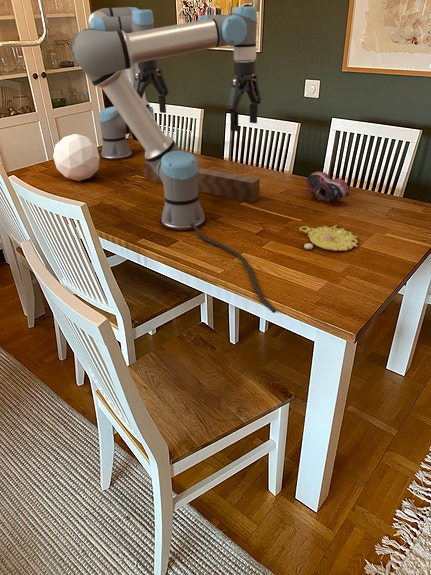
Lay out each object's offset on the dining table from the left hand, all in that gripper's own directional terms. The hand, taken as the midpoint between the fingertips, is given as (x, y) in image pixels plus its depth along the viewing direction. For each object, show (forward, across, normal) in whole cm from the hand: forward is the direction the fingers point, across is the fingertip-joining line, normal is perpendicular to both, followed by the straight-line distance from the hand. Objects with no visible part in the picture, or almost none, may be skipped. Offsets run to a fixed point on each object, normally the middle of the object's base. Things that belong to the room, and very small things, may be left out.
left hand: (152, 115), depth 180 cm
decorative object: (+27, -18, -85) cm, 91 cm away
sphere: (+27, -16, +32) cm, 45 cm away
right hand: (0, 0, -43) cm, 43 cm away
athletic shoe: (+27, +14, -70) cm, 76 cm away
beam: (+27, 0, -22) cm, 35 cm away
